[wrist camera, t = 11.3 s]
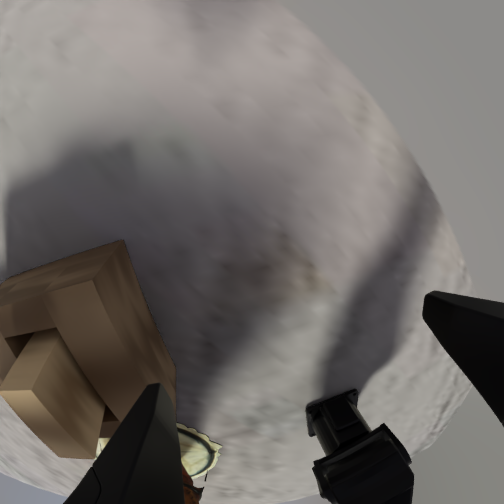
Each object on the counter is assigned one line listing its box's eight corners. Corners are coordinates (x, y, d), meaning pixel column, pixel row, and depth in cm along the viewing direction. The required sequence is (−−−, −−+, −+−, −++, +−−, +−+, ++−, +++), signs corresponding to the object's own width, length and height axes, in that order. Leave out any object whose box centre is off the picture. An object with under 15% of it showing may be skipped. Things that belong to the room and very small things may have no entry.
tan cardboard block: (113, 374, 18) (95, 459, 11) (78, 379, 18) (54, 456, 10) (76, 309, 16) (31, 390, 9) (41, 317, 16) (-7, 390, 8)
